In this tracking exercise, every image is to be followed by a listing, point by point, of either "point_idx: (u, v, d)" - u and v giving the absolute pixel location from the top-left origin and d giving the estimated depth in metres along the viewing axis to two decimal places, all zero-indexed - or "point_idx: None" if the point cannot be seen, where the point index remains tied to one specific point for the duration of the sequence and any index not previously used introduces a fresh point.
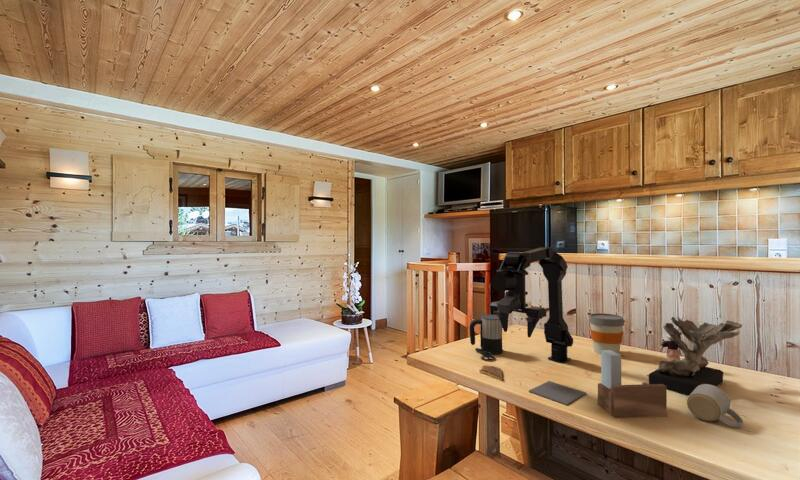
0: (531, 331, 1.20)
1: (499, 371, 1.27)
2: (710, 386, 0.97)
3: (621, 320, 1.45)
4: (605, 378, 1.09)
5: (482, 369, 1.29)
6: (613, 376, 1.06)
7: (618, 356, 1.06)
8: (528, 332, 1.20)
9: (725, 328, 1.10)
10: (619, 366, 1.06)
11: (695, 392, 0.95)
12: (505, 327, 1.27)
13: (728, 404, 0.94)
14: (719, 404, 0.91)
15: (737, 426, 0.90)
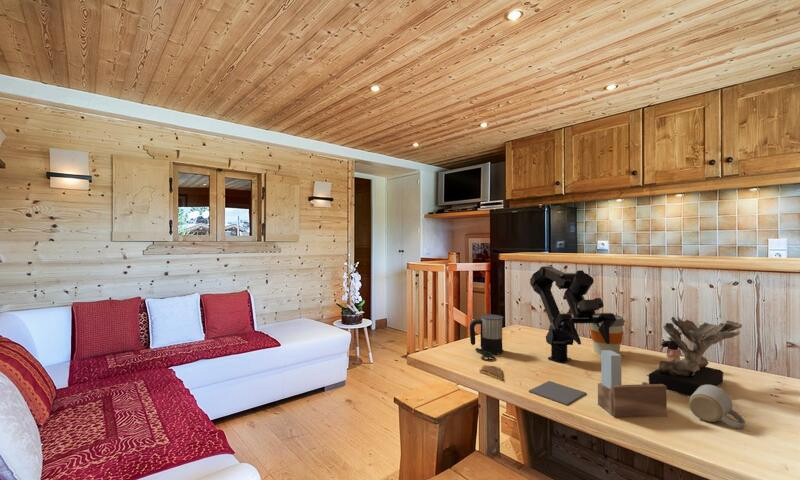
0: None
1: (499, 371, 1.27)
2: (712, 387, 0.96)
3: (621, 320, 1.45)
4: (605, 378, 1.09)
5: (482, 369, 1.29)
6: (613, 376, 1.06)
7: (618, 356, 1.06)
8: (608, 337, 1.17)
9: (725, 328, 1.10)
10: (619, 366, 1.06)
11: (697, 393, 0.95)
12: None
13: (730, 405, 0.93)
14: (721, 405, 0.91)
15: (739, 427, 0.89)
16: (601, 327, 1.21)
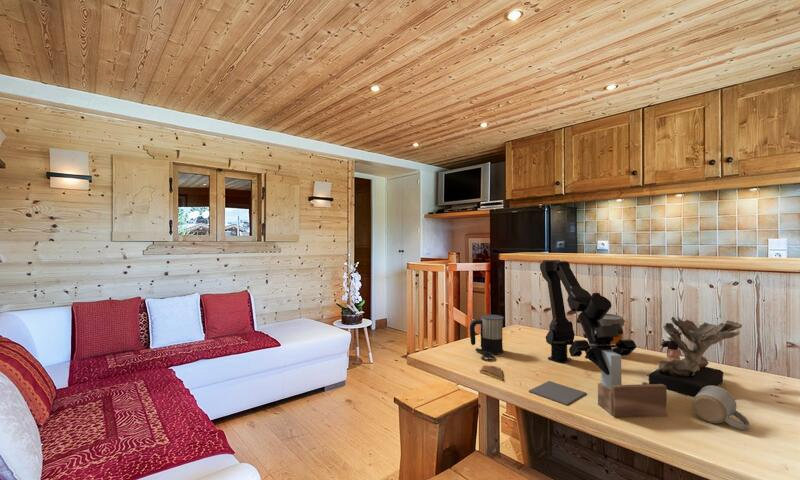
0: None
1: (499, 371, 1.27)
2: (716, 387, 0.96)
3: (621, 320, 1.45)
4: (605, 378, 1.09)
5: (482, 369, 1.29)
6: (613, 376, 1.06)
7: (618, 356, 1.06)
8: None
9: (725, 328, 1.10)
10: (619, 366, 1.06)
11: (701, 394, 0.94)
12: None
13: (734, 406, 0.93)
14: (725, 406, 0.90)
15: (743, 428, 0.89)
16: None
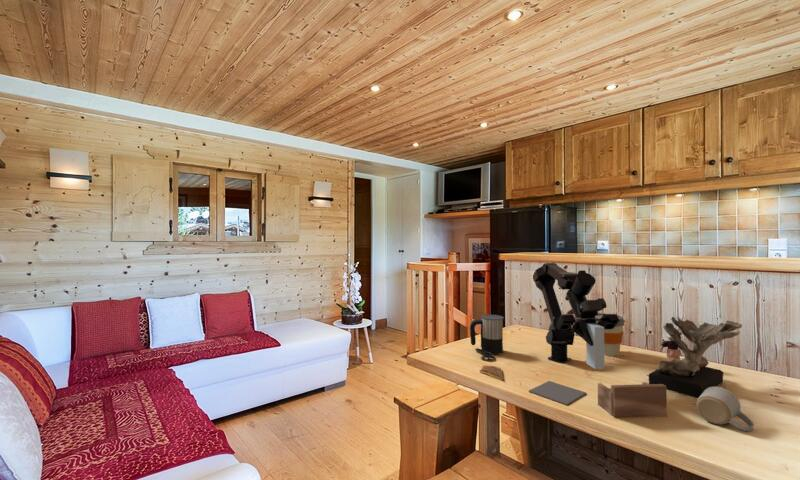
0: None
1: (499, 371, 1.27)
2: (719, 388, 0.95)
3: (621, 320, 1.45)
4: (589, 349, 1.16)
5: (482, 369, 1.29)
6: (596, 346, 1.13)
7: (601, 328, 1.13)
8: None
9: (725, 328, 1.10)
10: (602, 337, 1.13)
11: (704, 395, 0.94)
12: None
13: (738, 407, 0.92)
14: (729, 407, 0.90)
15: (748, 429, 0.88)
16: None
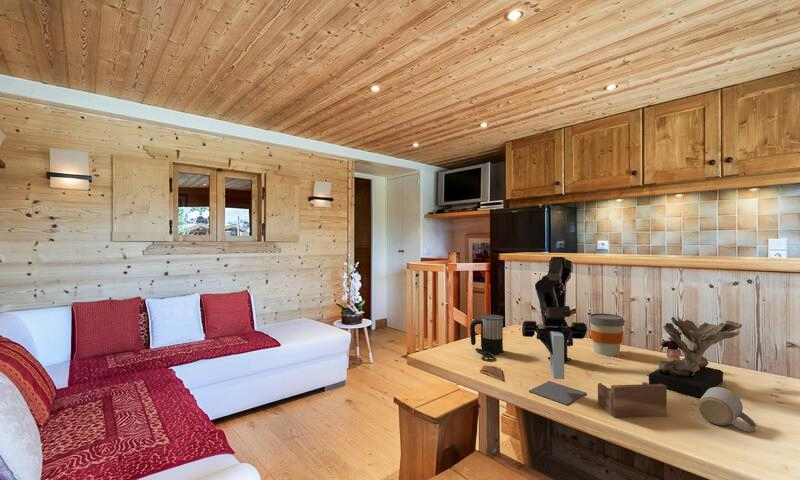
0: (565, 348, 1.11)
1: (499, 371, 1.27)
2: (722, 389, 0.95)
3: (621, 320, 1.45)
4: (551, 357, 1.12)
5: (482, 369, 1.29)
6: (555, 355, 1.09)
7: (561, 336, 1.09)
8: (564, 347, 1.10)
9: (725, 328, 1.10)
10: (562, 346, 1.09)
11: (707, 395, 0.93)
12: (551, 348, 1.11)
13: (740, 408, 0.92)
14: (732, 408, 0.89)
15: (750, 430, 0.88)
16: None
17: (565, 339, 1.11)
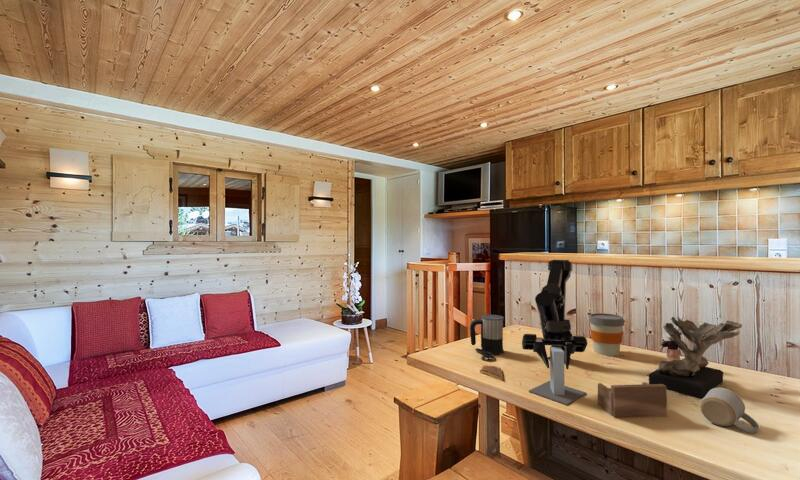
0: None
1: (499, 371, 1.27)
2: (724, 390, 0.94)
3: (621, 320, 1.45)
4: (551, 373, 1.12)
5: (482, 369, 1.29)
6: (555, 371, 1.09)
7: (561, 352, 1.09)
8: (568, 361, 1.10)
9: (725, 328, 1.10)
10: (562, 362, 1.08)
11: (709, 396, 0.93)
12: None
13: (743, 408, 0.91)
14: (734, 409, 0.89)
15: (753, 431, 0.87)
16: (565, 350, 1.14)
17: (569, 353, 1.11)
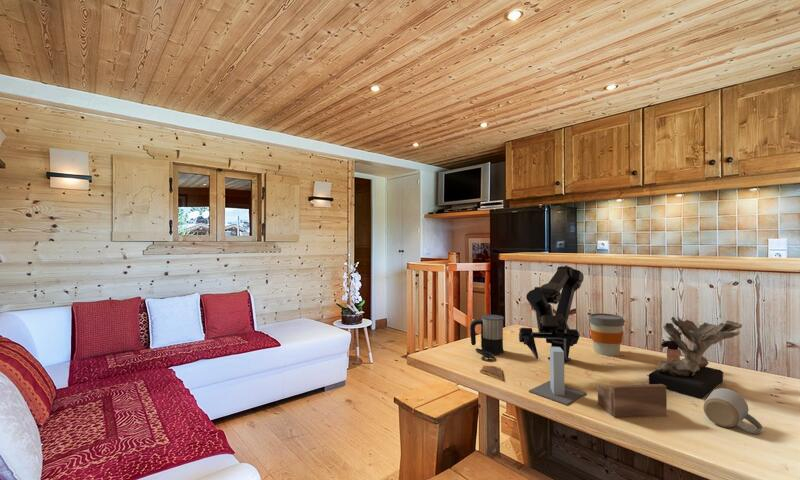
0: (568, 354, 1.19)
1: (499, 371, 1.27)
2: (727, 390, 0.94)
3: (621, 320, 1.45)
4: (551, 373, 1.12)
5: (482, 369, 1.29)
6: (555, 371, 1.09)
7: (561, 352, 1.09)
8: (567, 353, 1.18)
9: (725, 328, 1.10)
10: (562, 362, 1.08)
11: (712, 397, 0.92)
12: None
13: (746, 409, 0.91)
14: (737, 410, 0.88)
15: (756, 432, 0.87)
16: (564, 343, 1.22)
17: (568, 345, 1.19)
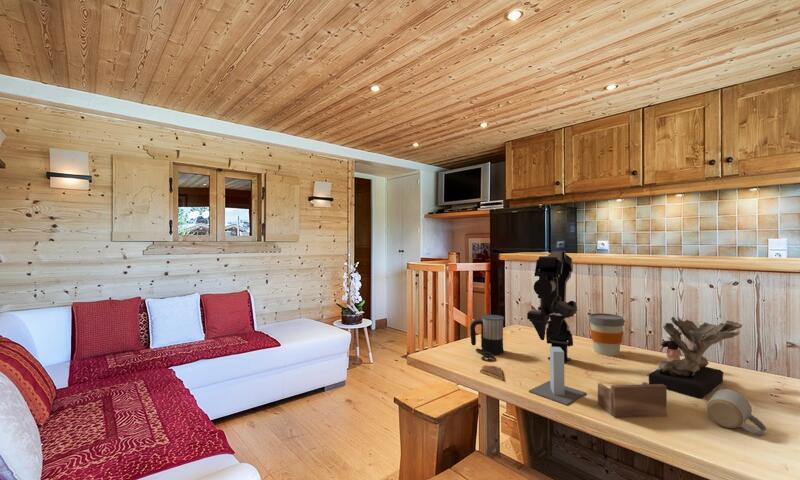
0: None
1: (499, 371, 1.27)
2: (730, 391, 0.93)
3: (621, 320, 1.45)
4: (551, 373, 1.12)
5: (482, 369, 1.29)
6: (555, 371, 1.09)
7: (561, 352, 1.09)
8: (559, 330, 1.28)
9: (725, 328, 1.10)
10: (562, 362, 1.08)
11: (715, 398, 0.92)
12: None
13: (750, 410, 0.90)
14: (741, 411, 0.88)
15: (760, 433, 0.86)
16: (555, 317, 1.29)
17: (561, 323, 1.28)
